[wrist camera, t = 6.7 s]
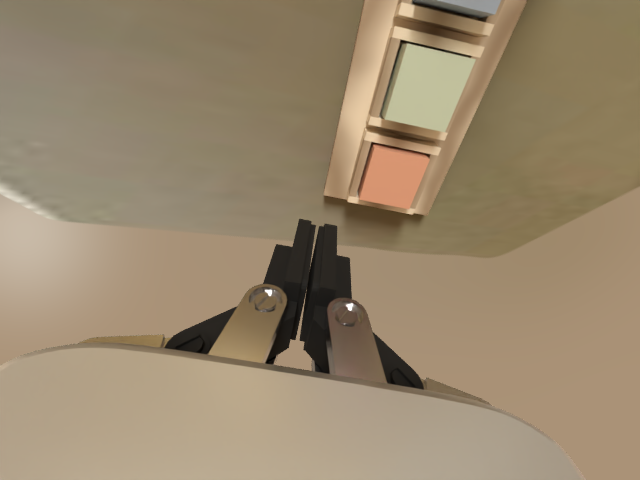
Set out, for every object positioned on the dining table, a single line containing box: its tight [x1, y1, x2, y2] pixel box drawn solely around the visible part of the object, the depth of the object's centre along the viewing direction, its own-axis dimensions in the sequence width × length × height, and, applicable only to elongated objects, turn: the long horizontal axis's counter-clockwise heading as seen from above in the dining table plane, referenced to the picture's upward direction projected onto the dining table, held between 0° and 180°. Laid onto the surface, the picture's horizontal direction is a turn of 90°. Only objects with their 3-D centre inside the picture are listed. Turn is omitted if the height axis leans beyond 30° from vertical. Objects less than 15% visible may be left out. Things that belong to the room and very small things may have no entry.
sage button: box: [381, 43, 476, 132], centre depth 26 cm, size 6×6×3 cm
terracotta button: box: [358, 142, 430, 209], centre depth 32 cm, size 6×6×3 cm
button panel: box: [324, 0, 527, 216], centre depth 28 cm, size 14×28×4 cm, turn 169°
